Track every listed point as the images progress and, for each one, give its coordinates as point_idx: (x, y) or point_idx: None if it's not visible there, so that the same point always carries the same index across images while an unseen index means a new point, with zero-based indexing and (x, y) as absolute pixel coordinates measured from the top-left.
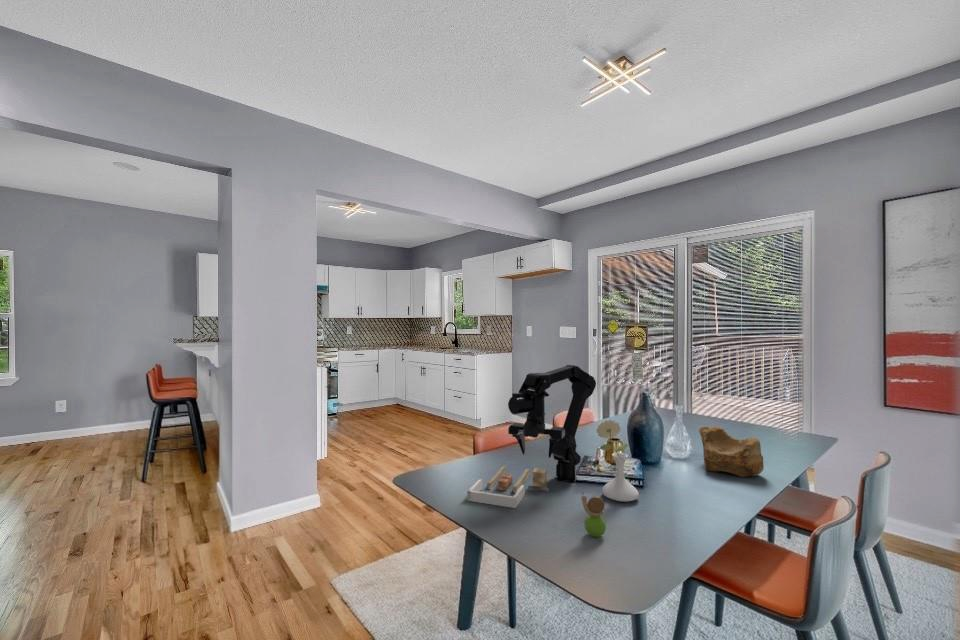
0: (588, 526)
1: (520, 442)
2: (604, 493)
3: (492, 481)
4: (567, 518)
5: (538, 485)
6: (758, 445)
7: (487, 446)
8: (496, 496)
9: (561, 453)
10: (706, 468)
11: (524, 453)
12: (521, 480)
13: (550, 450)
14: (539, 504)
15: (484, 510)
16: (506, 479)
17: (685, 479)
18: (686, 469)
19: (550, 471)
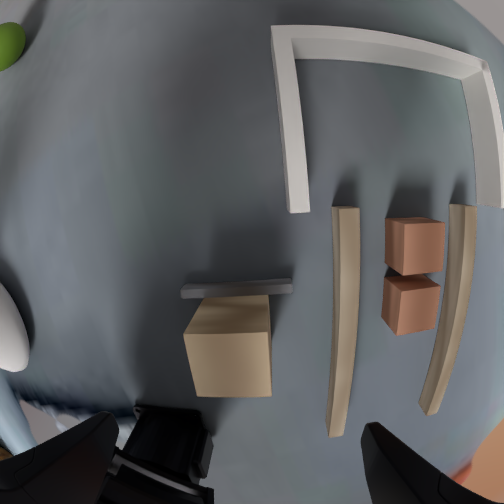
0: (13, 22)
1: (445, 500)
2: (6, 298)
3: (463, 237)
4: (67, 82)
5: (233, 298)
6: None
7: None
8: (372, 32)
9: (128, 489)
10: (8, 454)
11: (362, 438)
12: (339, 316)
13: (55, 443)
14: (179, 127)
15: (375, 6)
16: (413, 261)
17: (3, 426)
18: None
19: (253, 462)
